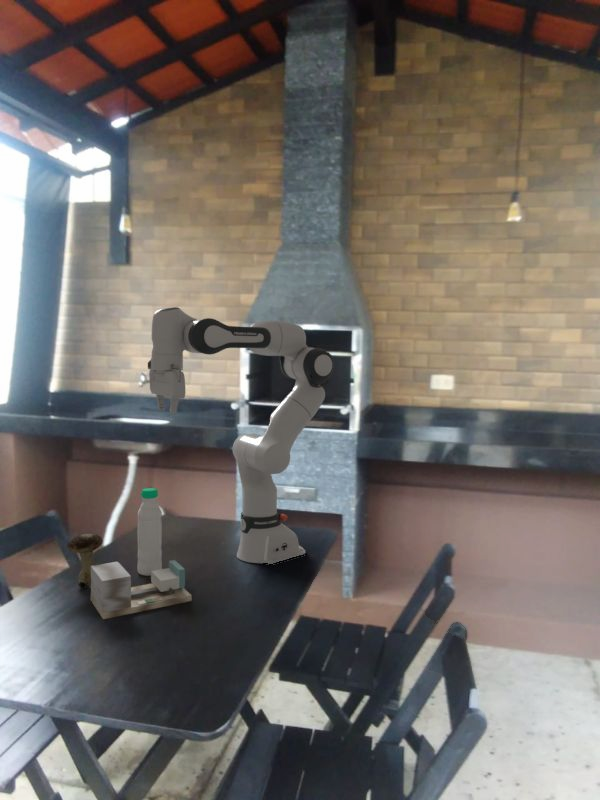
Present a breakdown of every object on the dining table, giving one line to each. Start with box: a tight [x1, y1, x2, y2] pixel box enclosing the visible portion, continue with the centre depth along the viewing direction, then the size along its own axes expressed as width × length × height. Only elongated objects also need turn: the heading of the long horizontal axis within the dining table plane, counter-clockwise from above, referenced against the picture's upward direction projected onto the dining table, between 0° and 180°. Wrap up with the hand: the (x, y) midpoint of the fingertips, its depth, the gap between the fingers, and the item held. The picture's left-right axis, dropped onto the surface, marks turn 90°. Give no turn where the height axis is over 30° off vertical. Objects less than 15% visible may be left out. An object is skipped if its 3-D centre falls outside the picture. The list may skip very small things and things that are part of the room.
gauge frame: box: [90, 561, 193, 620], centre depth 164 cm, size 23×13×10 cm, turn 121°
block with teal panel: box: [150, 559, 186, 593], centre depth 167 cm, size 7×10×5 cm, turn 32°
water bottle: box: [136, 487, 163, 577], centre depth 184 cm, size 7×7×25 cm
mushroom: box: [66, 533, 104, 589], centre depth 172 cm, size 9×9×15 cm
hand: (167, 411), depth 181 cm, fingers open, 8 cm apart
